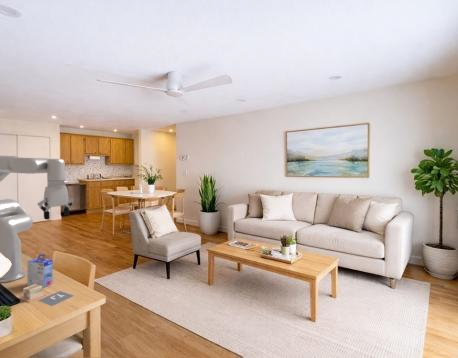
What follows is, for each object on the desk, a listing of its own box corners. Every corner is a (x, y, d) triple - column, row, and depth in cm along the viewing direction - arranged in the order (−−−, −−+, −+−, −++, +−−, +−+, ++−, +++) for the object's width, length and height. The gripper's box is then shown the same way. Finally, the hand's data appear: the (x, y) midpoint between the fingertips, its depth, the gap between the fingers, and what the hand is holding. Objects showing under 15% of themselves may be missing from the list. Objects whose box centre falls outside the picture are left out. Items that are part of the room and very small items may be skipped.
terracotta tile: (19, 298, 120) (19, 297, 120) (36, 292, 126) (36, 291, 126) (29, 302, 117) (29, 301, 117) (46, 295, 123) (46, 294, 123)
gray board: (37, 300, 118) (37, 300, 118) (60, 291, 127) (60, 290, 127) (52, 306, 114) (52, 305, 114) (74, 295, 123) (74, 295, 123)
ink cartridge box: (53, 283, 136) (53, 254, 135) (44, 288, 130) (43, 258, 129) (37, 281, 138) (36, 252, 137) (26, 286, 132) (26, 256, 131)
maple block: (23, 297, 120) (23, 288, 120) (35, 292, 125) (35, 283, 125) (30, 299, 118) (30, 290, 118) (42, 294, 123) (42, 286, 122)
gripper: (68, 182, 146) (68, 214, 147) (33, 184, 131) (34, 219, 132) (77, 183, 143) (78, 215, 144) (42, 185, 127) (43, 221, 128)
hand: (57, 217), depth 138 cm, fingers open, 9 cm apart
